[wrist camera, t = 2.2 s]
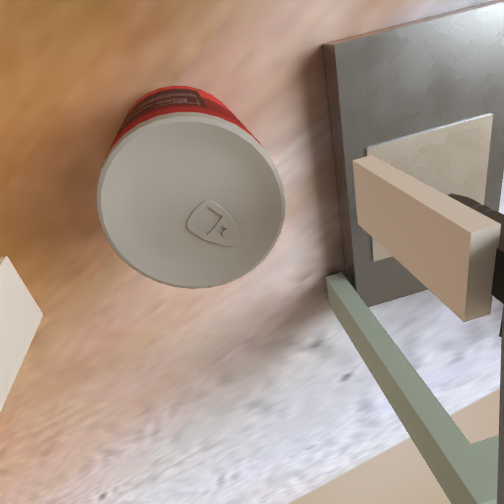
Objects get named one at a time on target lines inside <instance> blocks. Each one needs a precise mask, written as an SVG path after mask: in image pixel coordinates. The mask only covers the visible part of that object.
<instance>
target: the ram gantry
mask: <svg viewBox="0 0 504 504" xmlns="http://www.w3.org/2000/svg"><path fill="white" fill-rule="evenodd" d="M326 284H327V292H328V299H329V305H330V307H331V308H332V310H333V312H334V313H335V315H336V316H337V318H338V320H339V321H340V323H341V325H342V326H343V328H344V329H345V331H346V333H347V334H348V336H349V338H350V339H351V341H352V342H353V344H354V346H355V347H356V349H357V351H358V352H359V354H360V355H361V357H362V359H363V360H364V362H365V364H366V365H367V367H368V369H369V370H370V372H371V373H372V375H373V377H374V378H375V380H376V382H377V383H378V385H379V386H380V388H381V390H382V391H383V393H384V395H385V396H386V398H387V399H388V401H389V403H390V404H391V406H392V408H393V409H394V411H395V412H396V414H397V416H398V417H399V419H400V421H401V422H402V424H403V425H404V427H405V429H406V430H407V432H408V434H409V435H410V437H411V439H412V440H413V442H414V443H415V445H416V447H417V448H418V450H419V452H420V453H421V455H422V456H423V458H424V459H425V461H426V463H427V465H428V466H429V468H430V469H431V471H432V473H433V474H434V476H435V478H436V479H437V481H438V482H439V484H440V486H441V487H442V489H443V491H444V492H445V494H446V495H447V497H448V499H449V500H450V502H451V504H497V481H498V447H499V435H497V436H494V437H491V438H488V439H485V440H482V441H479V442H476V443H473V444H470V442H469V441H468V440H467V439H466V437H465V436H464V434H463V433H462V432H461V431H460V429H459V428H458V426H457V425H456V424H455V423H454V421H453V420H452V419H451V417H450V416H449V415H448V413H447V412H446V411H445V409H444V408H443V407H442V405H441V404H440V403H439V401H438V400H437V399H436V397H435V396H434V395H433V393H432V392H431V391H430V389H429V388H428V387H427V385H426V384H425V383H424V381H423V380H422V379H421V377H420V376H419V375H418V373H417V372H416V371H415V369H414V368H413V367H412V365H411V364H410V363H409V361H408V360H407V359H406V357H405V356H404V355H403V353H402V352H401V351H400V349H399V348H398V347H397V345H396V344H395V343H394V341H393V340H392V339H391V337H390V336H389V335H388V333H387V332H386V331H385V329H384V328H383V327H382V325H381V324H380V323H379V321H378V320H377V319H376V317H375V316H374V315H373V313H372V312H371V311H370V309H369V308H368V307H367V305H366V304H365V303H364V301H363V300H362V299H361V297H360V296H359V295H358V293H357V292H356V291H355V289H354V288H353V287H352V285H351V284H350V283H349V281H348V280H347V279H346V277H345V276H344V275H343V274H342V272H340V273H337V274H333V275H330V276H326Z"/></svg>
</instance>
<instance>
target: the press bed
mask: <svg viewBox="0 0 504 504" xmlns="http://www.w3.org/2000/svg"><path fill="white" fill-rule="evenodd" d="M322 45H323V54H324V64H325V74H326V83H327V93H328V103H329V112H330V122H331V132H332V141H333V151H334V161H335V170H336V180H337V190H338V199H339V209H340V219H341V228H342V238H343V248H344V257H345V267H346V277H347V280H348V281H349V283H350V284H351V285H352V287H353V288H354V289H355V291H356V292H357V293H358V295H359V296H360V297H361V299H362V300H363V301H364V303H365V304H366V305H367V307H371V306H374V305H377V304H381V303H384V302H387V301H391V300H394V299H397V298H401V297H404V296H407V295H411V294H414V293H417V292H421V291H424V290H427V289H428V288H427V287H426V286H424V285H423V284H422V283H421V282H420V281H419V280H418V279H417V278H416V277H415V276H414V275H413V274H411V273H410V272H409V271H408V270H407V269H406V268H405V267H404V266H403V265H402V264H401V263H400V262H399V261H397V260H396V259H395V258H394V257H393V256H392V255H391V254H390V253H389V252H388V251H387V250H386V249H384V248H383V247H382V246H381V245H380V244H379V243H378V242H377V241H376V240H375V239H374V238H373V237H371V236H370V235H369V234H368V233H367V232H366V231H365V230H364V229H363V228H362V227H361V226H360V225H358V219H357V208H356V196H355V184H354V172H353V160H355V159H359V158H363V157H366V156H370V155H372V156H374V157H376V158H378V159H380V160H382V161H383V162H385V163H387V164H389V165H391V166H393V167H395V168H397V169H398V170H400V171H402V172H404V173H406V174H408V175H410V176H412V177H413V178H415V179H417V180H419V181H421V182H423V183H425V184H427V185H429V186H430V187H432V188H434V189H436V190H438V191H440V192H442V193H444V194H445V195H448V194H456V195H461V196H465V197H469V198H471V199H473V200H475V201H477V202H479V203H481V205H485V206H487V207H489V208H491V210H495V211H497V212H498V211H499V203H500V195H501V187H502V179H503V171H504V0H495V1H492V2H488V3H484V4H480V5H476V6H472V7H468V8H464V9H460V10H456V11H452V12H448V13H444V14H440V15H436V16H432V17H428V18H424V19H420V20H416V21H412V22H408V23H404V24H400V25H396V26H392V27H388V28H384V29H381V30H377V31H373V32H369V33H365V34H361V35H357V36H353V37H349V38H345V39H341V40H337V41H333V42H329V43H325V44H322Z"/></svg>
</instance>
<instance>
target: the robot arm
mask: <svg viewBox="0 0 504 504" xmlns="http://www.w3.org/2000/svg"><path fill="white" fill-rule="evenodd" d="M353 172H354V184H355V196H356V208H357V219H358V225H360V226H361V227H362V228H363V229H364V230H365V231H366V232H367V233H368V234H369V235H370V236H371V237H373V238H374V239H375V240H376V241H377V242H378V243H379V244H380V245H381V246H382V247H383V248H384V249H386V250H387V251H388V252H389V253H390V254H391V255H392V256H393V257H394V258H395V259H396V260H397V261H399V262H400V263H401V264H402V265H403V266H404V267H405V268H406V269H407V270H408V271H409V272H410V273H411V274H413V275H414V276H415V277H416V278H417V279H418V280H419V281H420V282H421V283H422V284H423V285H424V286H426V287H427V288H428V289H429V290H430V291H431V292H432V293H433V294H434V295H435V296H436V297H437V298H439V299H440V300H441V301H442V302H443V303H444V304H445V305H446V306H447V307H448V308H449V309H450V310H452V311H453V312H454V313H455V314H456V315H457V316H458V317H459V318H460V319H461V320H462V321H463V322H466V321H469V320H472V319H476V318H479V317H482V316H485V315H488V314H490V311H491V303H492V295H493V296H494V297H495V298H497V299H498V300H499V301H500V302H502V303H503V304H504V215H503V214H501V213H499V212H497V211H495V210H491V208H489V207H487V206H485V205H481V203H479V202H477V201H475V200H473V199H471V198H469V197H465V196H461V195H456V194H448V195H445V194H444V193H442V192H440V191H438V190H436V189H434V188H432V187H430V186H429V185H427V184H425V183H423V182H421V181H419V180H417V179H415V178H413V177H412V176H410V175H408V174H406V173H404V172H402V171H400V170H398V169H397V168H395V167H393V166H391V165H389V164H387V163H385V162H383V161H382V160H380V159H378V158H376V157H374V156H372V155H370V156H366V157H363V158H359V159H355V160H353ZM42 317H43V314H42V312H41V310H40V309H39V307H38V305H37V304H36V302H35V301H34V299H33V297H32V296H31V294H30V292H29V291H28V289H27V288H26V286H25V284H24V283H23V281H22V279H21V278H20V276H19V275H18V273H17V271H16V270H15V268H14V266H13V265H12V263H11V262H10V260H9V258H8V257H7V256H5V257H1V258H0V412H1V409H2V407H3V405H4V403H5V400H6V398H7V396H8V394H9V391H10V389H11V387H12V384H13V382H14V380H15V378H16V375H17V373H18V371H19V369H20V366H21V364H22V362H23V360H24V357H25V355H26V353H27V351H28V348H29V346H30V344H31V342H32V339H33V337H34V335H35V333H36V330H37V328H38V326H39V323H40V321H41V319H42ZM499 336H500V337H502V344H501V378H500V412H499V414H500V415H499V447H498V481H497V504H504V307H503V314H502V321H501V328H500V335H499Z"/></svg>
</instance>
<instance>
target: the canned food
mask: <svg viewBox="0 0 504 504" xmlns="http://www.w3.org/2000/svg"><path fill="white" fill-rule="evenodd" d="M96 206H97V211H98V216H99V221H100V225H101V227H102V229H103V231H104V234H105V236H106V238H107V240H108V242H109V243H110V244H111V246H112V247H113V249H114V250H115V252H116V253H117V254H118V255H119V256H120V257H121V258H122V259H123V260H124V261H125V262H126V263H127V264H128V265H129V266H130V267H132V268H133V269H135V270H136V271H138V272H139V273H141V274H142V275H144V276H146V277H148V278H150V279H152V280H155V281H157V282H159V283H162V284H166V285H170V286H174V287H180V288H190V289H196V288H210V287H214V286H219V285H223V284H226V283H229V282H231V281H233V280H236V279H238V278H240V277H242V276H244V275H245V274H247V273H248V272H250V271H251V270H253V269H254V268H255V267H256V266H257V265H258V264H260V263H261V262H262V261H263V260H264V259H265V258H266V256H267V255H268V254H269V252H270V251H271V250H272V248H273V247H274V245H275V243H276V241H277V239H278V237H279V235H280V233H281V229H282V225H283V221H284V215H285V197H284V191H283V185H282V182H281V180H280V177H279V174H278V172H277V169H276V167H275V164H274V163H273V161H272V160H271V158H270V156H269V155H268V153H267V152H266V150H265V149H264V148H263V147H262V145H261V144H260V142H259V141H258V140H257V139H256V138H255V137H254V136H253V135H252V134H251V133H250V132H249V131H248V130H247V128H246V127H245V126H244V125H243V124H242V123H241V122H240V121H239V120H238V119H237V118H236V117H235V116H234V114H233V113H232V112H231V111H230V110H229V109H228V108H227V107H226V106H225V105H224V104H223V103H222V102H221V101H219V100H218V99H217V98H215V97H214V96H212V95H211V94H208V93H206V92H204V91H202V90H200V89H196V88H191V87H187V86H170V87H165V88H160V89H157V90H155V91H153V92H150V93H148V94H147V95H145V96H144V97H143V98H141V99H140V100H138V102H137V103H136V104H135V105H134V106H133V107H132V108H131V110H130V111H129V113H128V115H127V117H126V119H125V120H124V122H123V124H122V126H121V128H120V130H119V132H118V134H117V136H116V138H115V140H114V141H113V143H112V145H111V147H110V149H109V151H108V153H107V155H106V157H105V160H104V162H103V164H102V167H101V171H100V175H99V178H98V182H97V204H96Z"/></svg>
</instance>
